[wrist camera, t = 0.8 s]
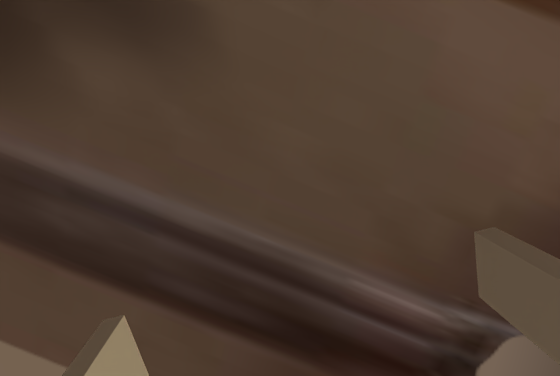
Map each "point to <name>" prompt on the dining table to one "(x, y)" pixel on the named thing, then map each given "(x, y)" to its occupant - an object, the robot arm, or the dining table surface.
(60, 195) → the dining table surface
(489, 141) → the dining table surface
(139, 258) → the dining table surface
